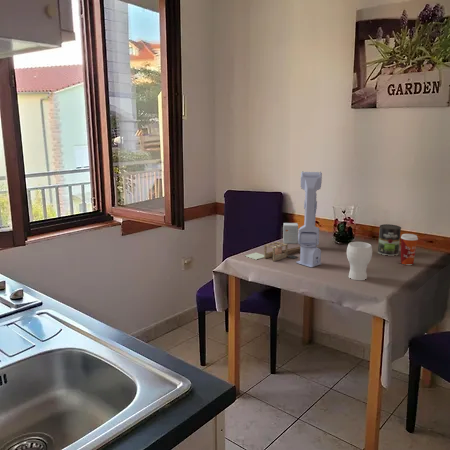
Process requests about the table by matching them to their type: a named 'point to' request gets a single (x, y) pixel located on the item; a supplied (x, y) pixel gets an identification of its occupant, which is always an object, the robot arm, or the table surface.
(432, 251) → the table surface
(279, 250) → the cylinder
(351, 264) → the cup
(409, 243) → the paper cup
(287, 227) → the small box
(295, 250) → the rod
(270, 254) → the wooden ladder stand
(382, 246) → the coffee can
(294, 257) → the mat
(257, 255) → the pad
